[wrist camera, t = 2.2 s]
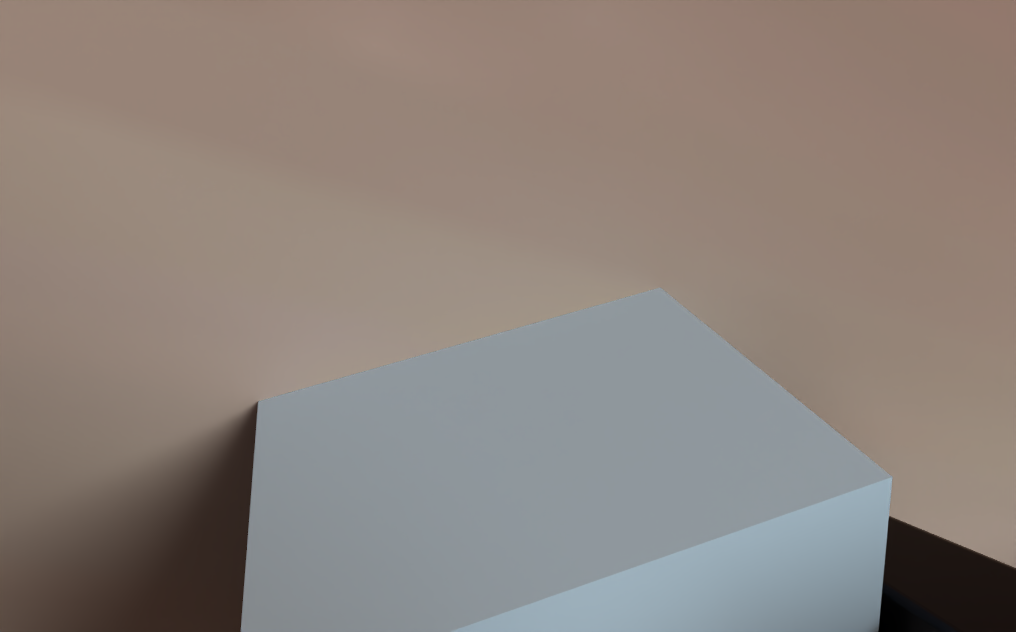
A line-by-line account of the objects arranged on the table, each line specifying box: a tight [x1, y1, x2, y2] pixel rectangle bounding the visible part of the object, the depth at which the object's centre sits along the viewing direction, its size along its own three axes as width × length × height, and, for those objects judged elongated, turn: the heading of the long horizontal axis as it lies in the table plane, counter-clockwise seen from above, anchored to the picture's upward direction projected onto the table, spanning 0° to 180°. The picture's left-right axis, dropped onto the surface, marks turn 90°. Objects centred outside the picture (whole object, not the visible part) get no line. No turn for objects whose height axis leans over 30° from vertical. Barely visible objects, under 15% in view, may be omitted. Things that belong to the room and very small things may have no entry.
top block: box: [241, 288, 892, 632], centre depth 8 cm, size 5×5×4 cm
